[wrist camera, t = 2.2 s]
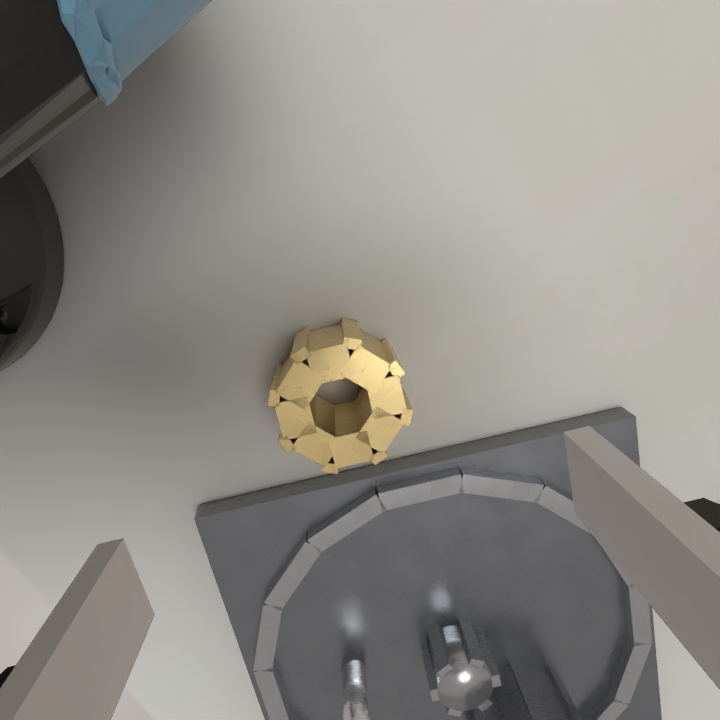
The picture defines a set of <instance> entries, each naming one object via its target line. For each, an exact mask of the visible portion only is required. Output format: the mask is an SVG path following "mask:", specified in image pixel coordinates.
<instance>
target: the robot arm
mask: <svg viewBox="0 0 720 720" xmlns="http://www.w3.org/2000/svg"><path fill="white" fill-rule="evenodd" d="M210 1H211V0H0V371H1V370H3V369H5V368H6V367H8V366H9V365H11V364H12V363H14V362H15V361H16V360H18V359H19V358H20V357H22V356H23V355H24V354H25V353H26V352H27V351H28V350H29V349H30V348H31V347H32V346H33V345H34V343H35V342H36V341H37V340H38V338H39V337H40V336H41V334H42V333H43V331H44V330H45V328H46V327H47V325H48V323H49V321H50V319H51V317H52V315H53V312H54V310H55V307H56V305H57V301H58V298H59V294H60V290H61V285H62V278H63V264H64V263H63V245H62V237H61V232H60V227H59V223H58V219H57V215H56V212H55V209H54V206H53V204H52V201H51V199H50V196H49V194H48V192H47V190H46V187H45V185H44V183H43V181H42V180H41V178H40V176H39V174H38V173H37V171H36V169H35V168H34V166H33V165H32V163H31V162H30V160H29V159H28V157H29V156H30V155H31V154H33V153H34V152H35V151H36V150H38V149H39V148H40V147H42V146H43V145H44V144H46V143H47V142H48V141H50V140H51V139H52V138H54V137H55V136H56V135H57V134H59V133H60V132H61V131H63V130H64V129H65V128H67V127H68V126H69V125H71V124H72V123H73V122H74V121H76V120H77V119H78V118H80V117H81V116H82V115H84V114H85V113H86V112H88V111H89V110H90V109H92V108H93V107H94V106H95V105H97V104H98V103H99V102H102V103H103V104H104V105H106V106H108V105H110V104H111V103H113V102H114V101H115V100H116V99H117V98H118V96H119V95H120V94H121V91H122V82H123V80H124V79H125V78H126V77H128V76H129V75H130V74H131V73H132V72H133V71H134V70H135V69H136V68H137V67H138V66H139V65H140V64H141V63H142V62H144V61H145V60H146V59H147V58H148V57H149V56H150V55H152V54H153V53H154V52H155V51H156V50H157V49H158V48H159V47H161V46H162V45H163V44H164V43H165V42H166V41H167V40H169V39H170V38H171V37H172V36H173V35H174V34H175V33H177V32H178V31H179V30H180V29H181V28H182V27H183V26H184V25H186V24H187V23H188V22H189V21H190V20H191V19H192V18H194V17H195V16H196V15H197V14H198V13H199V12H200V11H202V10H203V9H204V8H205V7H206V6H207V5H208V4H209V2H210ZM564 439H565V446H566V453H567V460H568V468H569V475H570V482H571V490H572V497H573V504H574V511H575V514H576V516H577V517H578V518H579V519H580V520H581V522H582V523H583V524H584V525H585V527H586V528H587V529H588V530H589V531H590V533H591V534H592V535H593V536H594V537H595V539H596V540H597V541H598V542H599V544H600V545H601V546H602V547H603V548H604V550H605V551H606V552H607V553H608V554H609V556H610V557H611V558H612V559H613V561H614V562H615V563H616V564H617V565H618V567H619V568H620V569H621V570H622V572H623V573H624V574H625V575H626V576H627V578H628V579H629V580H630V581H631V582H632V584H633V585H634V586H635V587H636V589H637V590H638V591H639V592H640V593H641V595H642V596H643V597H644V598H645V599H646V601H647V602H648V603H649V604H650V606H651V607H652V608H653V609H654V610H655V612H656V613H657V614H658V615H659V617H660V618H661V619H662V620H663V621H664V623H665V624H666V625H667V626H668V627H669V629H670V630H671V631H672V632H673V634H674V635H675V636H676V637H677V638H678V640H679V641H680V642H681V643H682V644H683V646H684V647H685V648H686V649H687V651H688V652H689V653H690V654H691V655H692V657H693V658H694V659H695V660H696V661H697V663H698V664H699V665H700V666H701V668H702V669H703V670H704V671H705V672H706V674H707V675H708V676H709V677H710V679H711V680H712V681H713V682H714V683H715V685H716V686H717V687H718V688H719V689H720V504H717V503H715V502H712V501H710V500H707V499H705V498H701V499H697V500H693V501H689V502H685V503H683V502H682V501H681V500H680V499H678V498H677V497H676V496H675V495H673V494H672V493H671V492H670V491H669V490H667V489H666V488H665V487H664V486H662V485H661V484H660V483H659V482H658V481H656V480H655V479H654V478H653V477H651V476H650V475H649V474H648V473H647V472H645V471H644V470H643V469H642V468H640V467H639V466H638V465H637V464H636V463H634V462H633V461H632V460H631V459H629V458H628V457H627V456H626V455H625V454H623V453H622V452H621V451H620V450H618V449H617V448H616V447H615V446H614V445H612V444H611V443H610V442H609V441H607V440H606V439H605V438H604V437H603V436H601V435H600V434H599V433H598V432H596V431H595V430H594V429H593V428H592V427H590V426H586V427H582V428H578V429H574V430H569V431H565V432H564ZM154 615H155V614H154V612H153V610H152V607H151V605H150V602H149V600H148V597H147V595H146V593H145V590H144V588H143V585H142V583H141V580H140V578H139V575H138V573H137V571H136V568H135V566H134V563H133V561H132V558H131V556H130V554H129V551H128V549H127V546H126V544H125V541H124V539H123V538H122V539H118V540H114V541H110V542H106V543H101V544H98V545H97V546H96V547H95V549H94V550H93V552H92V553H91V555H90V556H89V558H88V559H87V561H86V562H85V564H84V565H83V567H82V568H81V570H80V571H79V573H78V574H77V576H76V577H75V579H74V580H73V582H72V583H71V584H70V586H69V587H68V589H67V590H66V592H65V593H64V595H63V596H62V598H61V599H60V601H59V602H58V604H57V605H56V607H55V608H54V610H53V611H52V613H51V614H50V616H49V617H48V619H47V620H46V622H45V623H44V624H43V626H42V627H41V629H40V630H39V632H38V634H37V635H36V636H35V638H34V639H33V641H32V642H31V644H30V645H29V647H28V648H27V650H26V651H25V653H24V654H23V655H22V657H21V658H20V660H19V661H18V663H17V664H16V665H15V666H11V667H8V668H6V669H5V670H4V671H3V672H2V673H1V674H0V720H111V718H112V716H113V713H114V711H115V708H116V706H117V704H118V701H119V699H120V697H121V694H122V692H123V689H124V687H125V685H126V682H127V680H128V677H129V675H130V673H131V670H132V668H133V665H134V663H135V661H136V658H137V656H138V653H139V651H140V649H141V646H142V644H143V642H144V639H145V637H146V634H147V632H148V630H149V627H150V625H151V622H152V620H153V618H154Z"/></svg>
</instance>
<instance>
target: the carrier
mask: <svg viewBox="0 0 720 720" xmlns="http://www.w3.org/2000/svg"><path fill="white" fill-rule="evenodd" d="M586 426H590V427H592V428H593V429H594V430H595V431H596V432H598V433H599V434H600V435H601V436H603V437H604V438H605V439H606V440H607V441H609V442H610V443H611V444H612V445H614V446H615V447H616V448H617V449H618V450H620V451H621V452H622V453H623V454H625V455H626V456H627V457H628V458H629V459H631V460H632V461H633V462H634V463H636V464H637V465H638V466H639V467H640V462H639V450H638V439H637V427H636V416H634V415H633V414H631V413H630V412H628V411H627V410H625V409H624V408H622V407H618V408H614V409H610V410H605V411H601V412H597V413H592V414H588V415H584V416H579V417H575V418H571V419H567V420H562V421H558V422H554V423H549V424H545V425H541V426H536V427H532V428H528V429H524V430H519V431H515V432H511V433H506V434H502V435H498V436H493V437H489V438H485V439H480V440H476V441H472V442H468V443H463V444H459V445H455V446H450V447H446V448H442V449H437V450H433V451H429V452H425V453H420V454H416V455H412V456H407V457H403V458H399V459H394V460H390V461H386V462H382V463H378V464H376V465H374V464H373V465H369V466H364V467H360V468H356V469H351V470H347V471H343V472H339V473H338V474H330V475H326V476H321V477H317V478H313V479H308V480H304V481H300V482H295V483H291V484H287V485H283V486H278V487H274V488H270V489H265V490H261V491H257V492H252V493H248V494H244V495H240V496H235V497H231V498H227V499H222V500H218V501H214V502H209V503H205V504H201V505H200V507H199V509H198V511H197V514H196V516H195V522H196V525H197V528H198V530H199V533H200V536H201V539H202V542H203V545H204V548H205V550H206V553H207V556H208V559H209V562H210V565H211V567H212V570H213V573H214V576H215V579H216V582H217V584H218V587H219V590H220V593H221V596H222V599H223V602H224V604H225V607H226V610H227V613H228V616H229V619H230V621H231V624H232V627H233V630H234V633H235V636H236V639H237V641H238V644H239V647H240V650H241V653H242V656H243V658H244V661H245V664H246V667H247V670H248V673H249V675H250V678H251V681H252V684H253V687H254V690H255V693H256V695H257V698H258V701H259V704H260V707H261V710H262V712H263V715H264V718H265V720H465V717H464V711H467V710H472V709H475V708H477V707H478V708H479V709H480V710H481V711H482V712H483V711H484V710H485V709H487V708H488V707H489V706H491V705H492V704H493V702H492V699H491V694H492V692H493V688H494V687H498V686H501V681H500V675H499V672H498V670H500V669H502V668H504V667H506V666H508V665H509V661H513V660H522V662H523V664H526V665H530V666H535V667H540V668H544V669H545V668H546V667H547V666H548V665H549V666H550V667H552V668H553V669H554V670H556V671H557V672H558V674H559V676H560V678H561V680H562V682H563V684H564V686H565V688H566V690H567V692H568V693H569V695H570V697H571V699H572V701H573V703H574V705H575V707H576V709H577V711H578V713H579V715H580V717H581V719H582V720H662V718H661V706H660V694H659V683H658V671H657V660H656V648H655V636H654V625H653V613H652V607H651V606H650V604H649V603H648V602H647V601H646V599H645V598H644V597H643V596H642V595H641V593H640V592H639V591H638V590H637V589H636V587H635V586H634V585H633V584H632V582H631V581H630V580H629V579H628V578H627V576H626V575H625V574H624V573H623V572H622V570H621V569H620V568H619V567H618V565H617V564H616V563H615V562H614V561H613V559H612V558H611V557H610V556H609V554H608V553H607V552H606V551H605V550H604V548H603V547H602V546H601V545H600V544H599V542H598V541H597V540H596V539H595V537H594V536H593V535H592V534H591V533H590V531H589V530H588V529H587V528H586V527H585V525H584V524H583V523H582V522H581V520H580V519H579V518H578V517H577V516H576V514H575V511H574V504H573V497H572V490H571V482H570V475H569V468H568V460H567V453H566V446H565V439H564V432H565V431H569V430H574V429H578V428H582V427H586Z"/></svg>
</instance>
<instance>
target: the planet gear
mask: <svg viewBox="0 0 720 720" xmlns="http://www.w3.org/2000/svg"><path fill="white" fill-rule="evenodd" d="M404 374H405V372H404V370H403V368H402V366H401V364H400V362H399V360H398V358H397V356H396V354H395V352H394V350H393V348H392V347H391V346H390V344H389V343H388V341H387V340H386V339H384V340H382V341H381V342H380V341H379V340H377V339H375V338H374V337H372V336H370V335H369V334H367V333H366V332H364V331H362V330H361V329H359V328H358V325H357V321H356V320H350V319H344V318H342V319H341V324H338V325H334V326H330V327H325V328H321V329H317V330H312V331H311V330H310V329H309V327H308V326H307V327H306V328H304V329H303V330H301V331H300V332H299V333H297V334H296V335H295V339H294V343H293V348H292V352H291V353H290V355H289V356H288V358H287V360H286V361H285V363H284V364H280V363H278V365H277V368H276V371H275V375H274V378H273V381H272V384H271V388H270V393H269V400H268V406H272V407H275V410H276V414H277V417H278V421H279V424H280V428H281V429H280V434H279V439H278V442H279V443H280V445H281V446H282V447H283V448H284V449H285V451H286V452H287V453H288V454H289V453H290V452H292V451H293V450H294V451H296V452H298V453H299V454H301V455H303V456H305V457H307V458H309V459H310V460H312V461H314V462H316V463H318V464H320V465H322V472H326V473H334V474H338V470H339V468H342V467H346V466H350V465H355V464H359V463H363V462H367V461H372V462H373V463H374V465H376V464H378V463H379V462H381V461H382V460H384V459H385V458H387V457H388V453H387V448H388V446H389V445H390V443H391V442H392V440H393V439H394V437H395V436H396V435H397V433H398V432H399V430H400V429H401V427H402V426H403V425H408V426H410V422H411V417H412V412H413V409H412V407H411V405H410V402H409V400H408V398H407V396H406V393H405V391H404V389H403V386H402V384H401V382H400V377H401V376H403V375H404ZM343 378H348V379H349V380H351V381H353V382H355V383H356V384H358V385H360V386H361V387H363V388H362V390H361V391H360V393H359V394H358V396H357V397H356V399H355V400H353V401H349V402H345V403H340V404H336V405H334V404H332V403H330V402H328V401H327V400H325V399H323V398H321V397H320V396H318V395H316V392H317V390H318V389H319V387H320V386H321V384H322V383H326V382H330V381H334V380H339V379H343Z"/></svg>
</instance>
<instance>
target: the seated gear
mask: <svg viewBox="0 0 720 720" xmlns="http://www.w3.org/2000/svg"><path fill="white" fill-rule="evenodd" d="M498 672H499V675H500V681H501V686H498V687H494V688H493V692H492V694H491V699H492V702H493V704H492V705H491V706H489V707H488V708H487V709H485V710H484V711H483V712H482V711H481V710H480V709H479V708H478V707H477V708H475V709H472V710H467V711H464V717H465V720H582V719H581V717H580V715H579V713H578V711H577V709H576V707H575V705H574V703H573V701H572V699H571V697H570V695H569V693H568V692H567V690H566V688H565V686H564V684H563V682H562V680H561V678H560V676H559V674H558V672H557V671H556V670H554V669H553V668H552V667H550V666H549V665H548V666H547V667H546V668H545V669H544V668H540V667H535V666H530V665H526V664H523V662H522V660H513V661H509V665H508V666H506V667H504V668H502V669H500V670H498Z"/></svg>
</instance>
